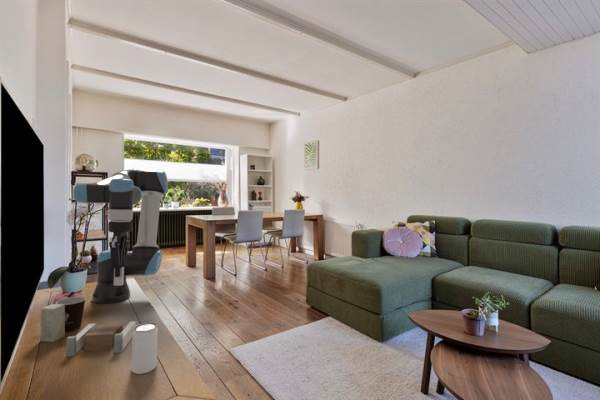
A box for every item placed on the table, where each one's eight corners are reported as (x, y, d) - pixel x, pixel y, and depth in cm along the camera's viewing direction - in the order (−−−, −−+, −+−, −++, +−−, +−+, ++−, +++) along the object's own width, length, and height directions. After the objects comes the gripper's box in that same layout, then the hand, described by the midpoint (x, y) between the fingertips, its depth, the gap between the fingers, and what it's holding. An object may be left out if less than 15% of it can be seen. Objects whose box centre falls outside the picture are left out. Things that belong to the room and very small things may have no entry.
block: (97, 339, 100) (97, 324, 100) (122, 337, 101) (122, 323, 101) (83, 351, 92) (84, 335, 92) (111, 349, 93) (112, 334, 93)
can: (129, 377, 79) (131, 333, 79) (132, 364, 85) (134, 323, 85) (156, 372, 82) (157, 329, 82) (157, 360, 88) (158, 320, 88)
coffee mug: (90, 325, 110) (91, 298, 109) (65, 335, 101) (66, 306, 101) (69, 320, 113) (69, 294, 113) (43, 329, 105) (44, 301, 105)
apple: (85, 310, 123) (86, 286, 123) (79, 318, 115) (80, 293, 115) (57, 313, 119) (58, 289, 119) (49, 321, 111) (50, 295, 111)
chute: (88, 335, 102) (89, 319, 102) (135, 332, 105) (136, 316, 105) (66, 356, 88) (66, 338, 88) (121, 352, 91) (121, 334, 91)
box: (65, 336, 100) (66, 304, 100) (53, 342, 96) (54, 309, 96) (51, 335, 101) (52, 303, 101) (38, 341, 97) (40, 307, 97)
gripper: (116, 219, 113) (114, 280, 113) (101, 222, 100) (99, 290, 100) (137, 219, 114) (135, 279, 114) (125, 222, 102) (123, 290, 102)
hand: (118, 284), depth 107 cm, fingers closed
